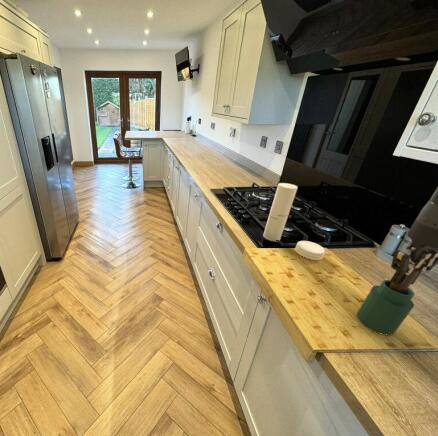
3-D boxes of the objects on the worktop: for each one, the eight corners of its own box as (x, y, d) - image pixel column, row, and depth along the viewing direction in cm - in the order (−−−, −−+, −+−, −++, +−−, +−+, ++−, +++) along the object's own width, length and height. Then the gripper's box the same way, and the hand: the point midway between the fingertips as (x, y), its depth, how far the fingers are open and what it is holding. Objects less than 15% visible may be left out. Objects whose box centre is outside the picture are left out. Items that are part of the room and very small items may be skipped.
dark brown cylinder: (396, 292, 63) (414, 265, 59) (403, 300, 60) (423, 272, 56) (383, 289, 64) (400, 262, 60) (389, 297, 61) (407, 269, 57)
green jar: (384, 315, 69) (407, 281, 63) (401, 339, 62) (429, 303, 56) (351, 308, 71) (371, 274, 66) (364, 329, 64) (387, 294, 59)
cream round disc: (328, 261, 93) (331, 254, 91) (303, 260, 93) (306, 253, 91) (312, 247, 102) (315, 240, 100) (290, 246, 102) (292, 239, 100)
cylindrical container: (281, 242, 105) (299, 189, 94) (263, 239, 107) (279, 186, 96) (278, 235, 111) (295, 184, 100) (262, 232, 113) (277, 182, 102)
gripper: (438, 234, 48) (396, 297, 56) (487, 229, 51) (440, 290, 58) (397, 218, 55) (364, 276, 62) (442, 215, 57) (405, 271, 65)
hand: (401, 282), depth 60 cm, fingers closed on dark brown cylinder, 3 cm apart
